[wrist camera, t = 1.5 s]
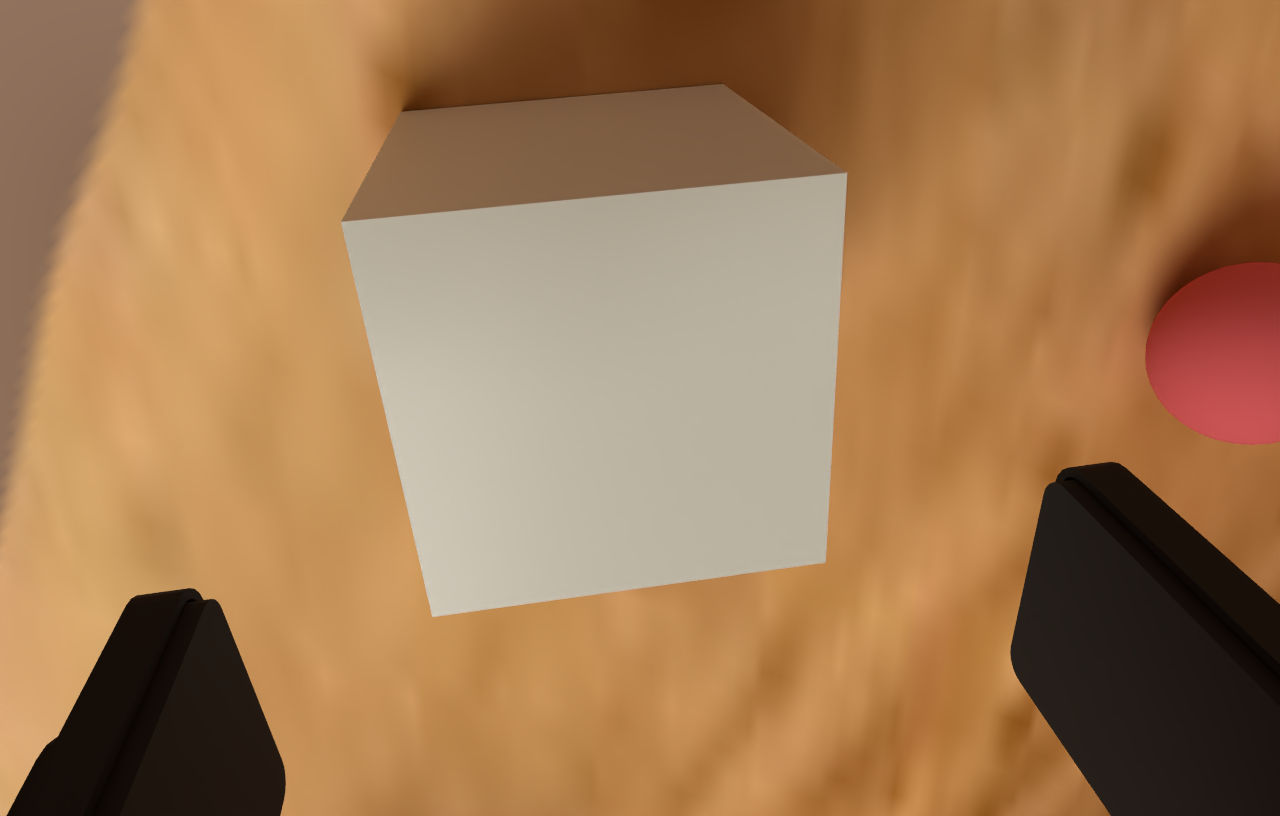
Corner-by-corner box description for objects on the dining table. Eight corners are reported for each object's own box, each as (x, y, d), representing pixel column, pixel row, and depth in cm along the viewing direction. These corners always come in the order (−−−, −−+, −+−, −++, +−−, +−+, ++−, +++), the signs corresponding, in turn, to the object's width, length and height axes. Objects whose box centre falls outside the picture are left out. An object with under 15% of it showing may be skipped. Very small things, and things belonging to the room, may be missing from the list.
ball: (1242, 382, 28) (1379, 467, 23) (1094, 401, 27) (1205, 491, 23) (1290, 229, 25) (1452, 292, 21) (1127, 247, 25) (1260, 315, 21)
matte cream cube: (726, 367, 25) (825, 562, 17) (454, 399, 24) (432, 617, 17) (723, 83, 21) (847, 172, 14) (400, 111, 21) (340, 222, 13)
